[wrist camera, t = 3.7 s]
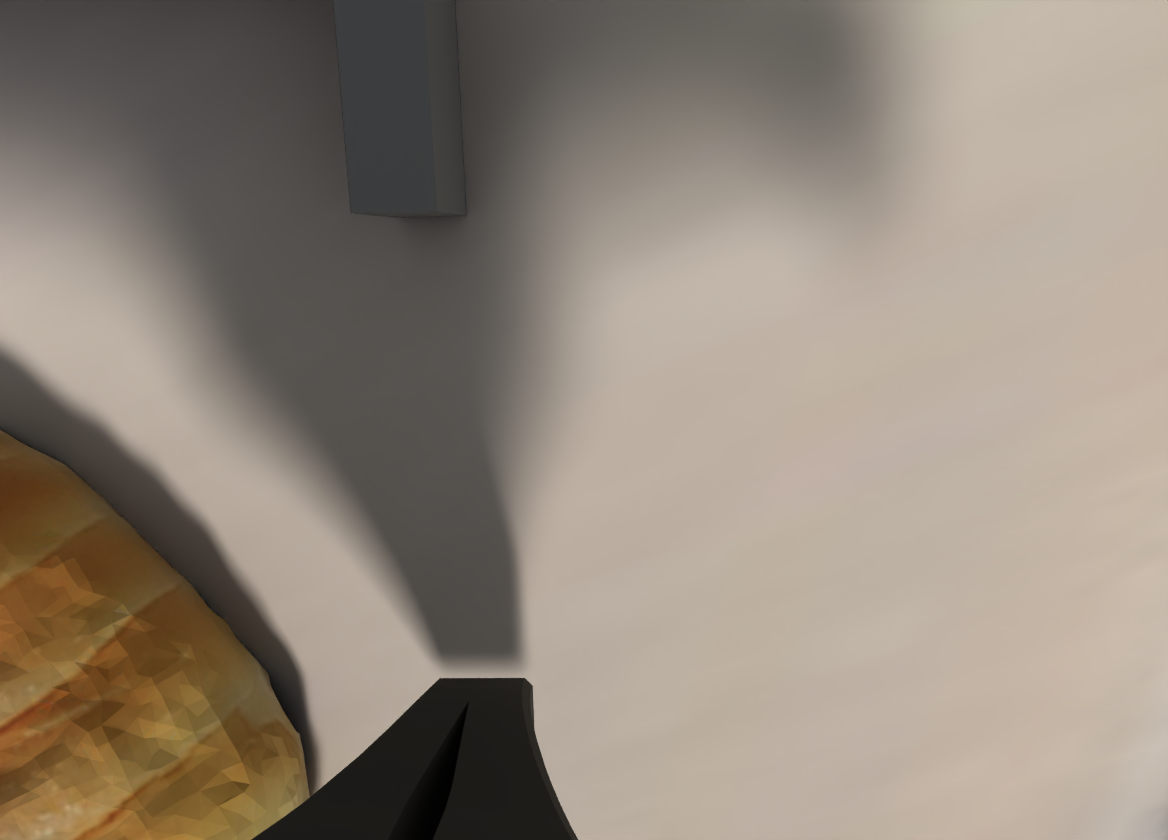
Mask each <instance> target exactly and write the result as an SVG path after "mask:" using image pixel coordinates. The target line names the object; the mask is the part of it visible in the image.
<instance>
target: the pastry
mask: <svg viewBox="0 0 1168 840" xmlns="http://www.w3.org/2000/svg"><path fill="white" fill-rule="evenodd" d="M308 798H310V795H309V789H308V782H307V775H306V768H305V761H304V752H303V747H302V743H301V739H300V734H299V733H297V732H296V731H295V729H294V727H293V725H292V724H291V722H290V721H289V719H288V718H287V716H286V715H285V713H284V711H283V710H282V708H281V706H280V703H279V701H278V700H277V698H276V696H275V694H274V692H273V689H272V687H271V684H270V679H269V675H268V673H267V672H266V671H265V669H264V668H263V667H262V666H261V665H260V663H259V662H258V661H257V660H256V659H255V658H254V657H253V656H252V655H251V653H250V652H249V651H248V650H247V649H246V648H245V647H244V646H243V645H242V644H241V643H240V642H239V640H238V639H237V638H236V637H235V635H234V634H233V632H232V630H231V628H230V627H229V625H228V624H227V623H226V622H225V621H224V619H223V618H221V617H219V616H218V615H216V614H215V613H214V612H213V611H212V610H211V609H210V608H208V606H207V605H206V604H205V602H204V601H203V599H202V598H201V597H200V595H199V594H198V593H197V591H196V590H195V589H194V588H193V586H192V585H191V584H190V583H189V582H188V580H186V579H185V578H184V577H183V576H182V575H181V574H180V573H178V572H177V571H176V570H175V569H173V568H172V567H171V566H170V565H169V564H168V563H167V562H166V561H165V560H164V559H163V558H162V557H161V556H160V555H159V554H158V553H157V552H156V551H155V550H154V549H153V548H152V547H151V546H150V545H149V544H148V543H147V542H146V541H145V540H144V539H143V538H142V537H141V536H140V535H139V533H138V532H137V531H136V530H135V529H134V528H133V527H132V526H131V525H130V524H129V523H128V522H127V521H126V520H125V519H124V518H123V517H122V516H121V515H120V514H119V513H118V512H117V511H116V510H115V509H114V508H113V507H112V506H111V505H110V504H109V503H107V502H106V501H105V500H104V499H103V498H102V497H101V496H100V495H99V494H98V493H97V492H96V491H94V490H93V489H92V488H91V487H90V486H89V485H88V484H87V483H86V482H85V481H83V480H82V479H81V478H80V477H79V476H78V475H77V474H75V473H74V472H73V471H72V470H71V469H70V468H68V467H67V466H66V465H65V464H63V463H61V462H59V461H57V460H55V459H53V458H51V457H49V456H47V455H45V454H43V453H41V452H39V451H37V450H35V449H33V448H31V447H29V446H27V445H25V444H23V443H21V442H20V441H18V440H16V439H15V438H13V437H11V436H10V435H8V434H6V433H5V432H3V431H2V430H0V840H251V839H253V838H254V837H255V836H257V835H258V834H260V833H261V832H263V831H264V830H266V829H267V828H269V827H270V826H271V825H273V824H274V823H276V822H277V821H279V820H280V819H282V818H283V817H284V816H286V815H287V814H288V813H290V812H291V811H292V810H294V809H295V808H297V807H298V806H299V805H301V804H302V803H303V802H304V801H306V800H307V799H308Z"/></svg>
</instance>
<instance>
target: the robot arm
mask: <svg viewBox="0 0 1168 840" xmlns="http://www.w3.org/2000/svg"><path fill="white" fill-rule="evenodd" d="M251 840H578V839H577V837H576V835H575V833H574V831H573V830H572V828H571V826H570V824H569V822H568V820H567V818H566V816H565V813H564V811H563V809H562V807H561V805H560V803H559V800H558V798H557V796H556V793H555V791H554V788H553V786H552V784H551V781H550V779H549V776H548V773H547V771H546V768H545V765H544V762H543V758H542V755H541V752H540V749H539V746H538V742H537V739H536V735H535V731H534V710H533V686H532V685H531V684H530V683H529V682H528V681H527V680H526V679H525V678H440V679H439V680H438V681H437V682H436V683H435V684H433V685H432V686H431V687H430V688H429V689H428V690H427V691H426V692H425V693H424V694H423V695H422V696H421V697H420V698H419V699H418V700H417V701H416V702H415V703H414V704H413V705H412V706H411V707H410V708H409V709H408V710H407V711H406V712H405V713H404V714H403V715H402V716H401V717H400V718H399V719H398V720H397V721H396V722H395V723H394V724H393V725H392V726H391V727H390V728H389V729H387V730H386V731H385V732H384V733H383V734H382V735H381V736H380V737H379V738H378V739H377V740H376V741H375V742H374V743H373V744H371V745H370V746H369V747H368V748H367V749H366V750H365V751H364V752H363V753H362V754H361V755H360V756H359V757H357V758H356V759H355V760H354V761H353V762H351V763H350V764H349V765H348V766H347V767H346V768H344V769H343V770H342V771H341V772H340V773H338V774H337V775H336V776H335V777H334V778H333V779H331V780H330V781H329V782H328V783H327V784H325V785H324V786H323V787H322V788H321V789H319V790H318V791H317V792H316V793H315V794H314V795H312V796H311V797H310V798H308V799H307V800H306V801H304V802H303V803H302V804H301V805H299V806H298V807H297V808H295V809H294V810H292V811H291V812H290V813H288V814H287V815H286V816H284V817H283V818H282V819H280V820H279V821H277V822H276V823H274V824H273V825H271V826H270V827H269V828H267V829H266V830H264V831H263V832H261V833H260V834H258V835H257V836H255V837H254V838H253V839H251Z"/></svg>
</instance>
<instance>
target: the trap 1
mask: <svg viewBox="0 0 1168 840" xmlns="http://www.w3.org/2000/svg"><path fill="white" fill-rule="evenodd" d="M333 6H334V18H335V30H336V41H337V53H338V65H339V77H340V89H341V101H342V113H343V125H344V137H345V149H346V161H347V173H348V185H349V197H350V209H351V213H354V214H365V215H376V216H387V217H427V216H466V198H465V180H464V161H463V142H462V123H461V105H460V86H459V67H458V48H457V30H456V11H455V0H333Z"/></svg>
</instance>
